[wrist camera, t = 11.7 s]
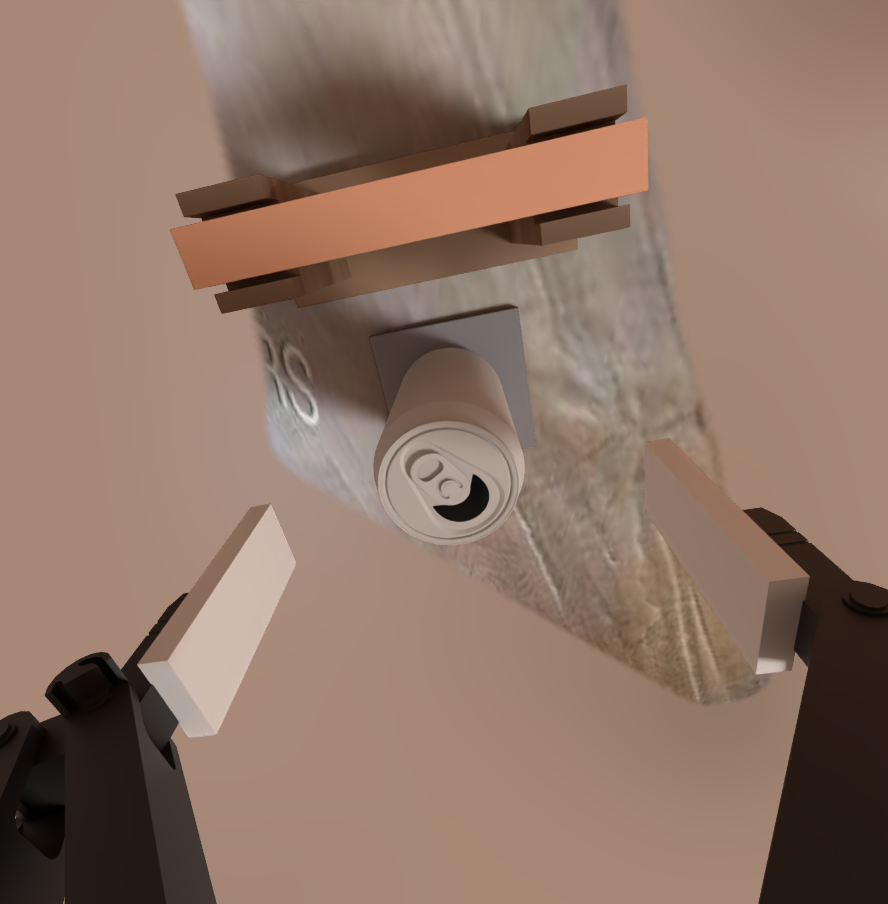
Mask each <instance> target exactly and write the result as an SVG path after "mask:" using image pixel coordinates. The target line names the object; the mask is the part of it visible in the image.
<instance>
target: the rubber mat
mask: <svg viewBox="0 0 888 904" xmlns="http://www.w3.org/2000/svg"><path fill="white" fill-rule="evenodd" d="M369 339H370V343H371V347H372V351H373V355H374V358H375V362H376V366H377V370H378V374H379V377H380V381H381V385H382V389H383V393H384V396H385V400H386V404H387V408H388V412H389V414H390V412H391V409H392V406H393V404H394V401H395V399H396V396H397V393H398V391H399V388H400V386H401V383H402V380H403V378H404V376H405V374H406V372H407V371H408V369H409V368H410V367H411V365H412V364H413V363H414V362H415V361H416V360H418V359H419V358H420V357H422V356H423V355H425V354H427V353H429V352H431V351H434V350H437V349H442V348H460V349H465V350H468V351H471V352H473V353H475V354H477V355H479V356H481V357H482V358H483V359H485V360H486V361H487V362H488V363H489V364H490V365H491V366H492V367H493V369H494V370H495V372H496V373H497V375H498V377H499V379H500V382H501V385H502V388H503V392H504V395H505V398H506V401H507V404H508V407H509V411H510V414H511V417H512V420H513V423H514V427H515V430H516V433H517V436H518V439H519V443H520V446H521V449H523V448H529V447H535V438H534V430H533V422H532V414H531V406H530V398H529V390H528V382H527V374H526V366H525V358H524V350H523V342H522V334H521V326H520V319H519V311H518V307H513V308H508V309H503V310H498V311H493V312H488V313H483V314H478V315H473V316H468V317H464V318H459V319H454V320H449V321H444V322H439V323H434V324H429V325H424V326H419V327H414V328H409V329H404V330H399V331H394V332H389V333H384V334H379V335H374V336H370V337H369Z"/></svg>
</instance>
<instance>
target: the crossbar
mask: <svg viewBox="0 0 888 904" xmlns="http://www.w3.org/2000/svg"><path fill="white" fill-rule="evenodd" d="M646 190H648V123H647V117H645V118H641V119H637V120H633V121H628V122H624V123H620V124H616V125H611V126H607V127H603V128H599V129H594V130H590V131H586V132H582V133H577V134H573V135H569V136H565V137H560V138H556V139H552V140H548V141H543V142H539V143H535V144H531V145H526V146H522V147H518V148H514V149H509V150H505V151H501V152H497V153H492V154H488V155H484V156H480V157H475V158H471V159H467V160H463V161H458V162H454V163H450V164H446V165H441V166H437V167H433V168H429V169H424V170H420V171H416V172H412V173H407V174H403V175H399V176H395V177H390V178H386V179H382V180H378V181H373V182H369V183H365V184H361V185H356V186H352V187H348V188H344V189H339V190H335V191H331V192H327V193H322V194H318V195H314V196H310V197H305V198H301V199H297V200H293V201H288V202H284V203H280V204H276V205H271V206H267V207H263V208H259V209H254V210H250V211H246V212H242V213H237V214H233V215H229V216H225V217H220V218H216V219H212V220H208V221H203V222H199V223H195V224H191V225H186V226H182V227H178V228H174V229H170V231H171V234H172V236H173V239H174V241H175V243H176V246H177V249H178V251H179V254H180V256H181V259H182V261H183V264H184V266H185V268H186V271H187V273H188V276H189V278H190V281H191V283H192V286H193V288H194V290H195V289H200V288H205V287H211V286H216V285H220V284H225V283H229V282H234V281H238V280H243V279H247V278H252V277H257V276H261V275H266V274H270V273H275V272H279V271H284V270H288V269H293V268H298V267H302V266H307V265H311V264H316V263H320V262H325V261H329V260H334V259H339V258H343V257H348V256H352V255H357V254H361V253H366V252H370V251H375V250H380V249H384V248H389V247H393V246H398V245H402V244H407V243H411V242H416V241H421V240H425V239H430V238H434V237H439V236H443V235H448V234H452V233H457V232H462V231H466V230H471V229H475V228H480V227H484V226H489V225H493V224H498V223H503V222H507V221H512V220H516V219H521V218H525V217H530V216H534V215H539V214H543V213H548V212H553V211H557V210H562V209H566V208H571V207H575V206H580V205H584V204H589V203H594V202H598V201H603V200H607V199H612V198H616V197H621V196H625V195H630V194H634V193H638V192H642V191H646Z"/></svg>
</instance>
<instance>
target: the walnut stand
mask: <svg viewBox="0 0 888 904" xmlns="http://www.w3.org/2000/svg"><path fill="white" fill-rule="evenodd" d="M626 112H627V84H626V85H622V86H618V87H614V88H610V89H606V90H602V91H598V92H593V93H589V94H585V95H581V96H577V97H573V98H569V99H565V100H561V101H556V102H552V103H548V104H544V105H540V106H536V107H532V108H529V109H528V110H527V112H526V114H525V116H524V117H523V119H522V121H521V123H520V124H519V126H518V128H517V130H514V131H510V132H506V133H502V134H497V135H493V136H489V137H485V138H481V139H477V140H472V141H468V142H464V143H460V144H456V145H451V146H447V147H443V148H439V149H435V150H431V151H426V152H422V153H418V154H414V155H410V156H405V157H401V158H397V159H393V160H389V161H385V162H380V163H376V164H372V165H368V166H364V167H359V168H355V169H351V170H347V171H343V172H339V173H334V174H330V175H326V176H322V177H318V178H313V179H309V180H305V181H301V182H297V183H293V184H287V183H284V182H281V181H278V180H275V179H272V178H269V177H266V176H263V175H260V174H256V175H252V176H248V177H244V178H240V179H236V180H232V181H228V182H223V183H220V184H215V185H211V186H207V187H203V188H199V189H195V190H191V191H187V192H182V193H179V194H176V197H177V200H178V202H179V205H180V208H181V210H182V213H183V215H184V217H191V218H202V221H208V220H212V219H216V218H220V217H225V216H229V215H233V214H237V213H242V212H246V211H250V210H254V209H259V208H263V207H267V206H271V205H276V204H280V203H284V202H288V201H293V200H297V199H301V198H305V197H310V196H314V195H318V194H322V193H327V192H331V191H335V190H339V189H344V188H348V187H352V186H356V185H361V184H365V183H369V182H373V181H378V180H382V179H386V178H390V177H395V176H399V175H403V174H407V173H412V172H416V171H420V170H424V169H429V168H433V167H437V166H441V165H446V164H450V163H454V162H458V161H463V160H467V159H471V158H475V157H480V156H484V155H488V154H492V153H497V152H501V151H505V150H509V149H514V148H518V147H522V146H526V145H531V144H535V143H539V142H543V141H548V140H552V139H556V138H560V137H565V136H569V135H573V134H577V133H582V132H586V131H590V130H594V129H599V128H603V127H607V126H611V125H615V120H617V119H618V118H619V117H621V116H622V115H624V114H625V113H626ZM628 227H630V204H628V205H623V206H618V197H616V198H612V199H607V200H603V201H598V202H594V203H589V204H584V205H580V206H575V207H571V208H566V209H562V210H557V211H553V212H548V213H543V214H539V215H534V216H530V217H525V218H521V219H516V220H512V221H507V222H503V223H498V224H493V225H489V226H484V227H480V228H475V229H471V230H466V231H462V232H457V233H452V234H448V235H443V236H439V237H434V238H430V239H425V240H421V241H416V242H411V243H407V244H402V245H398V246H393V247H389V248H384V249H380V250H375V251H370V252H366V253H361V254H357V255H352V256H348V257H343V258H339V259H334V260H329V261H325V262H320V263H316V264H311V265H307V266H302V267H298V268H293V269H288V270H284V271H279V272H275V273H270V274H266V275H261V276H257V277H252V278H247V279H243V280H238V281H234V282H229V283H226V285H227V288H228V292H223V293H219V294H215V298H216V300H217V303H218V306H219V308H220V311H221V313H222V314H223V313H228V312H233V311H238V310H242V309H247V308H252V307H256V306H261V305H266V304H270V303H275V302H280V301H285V300H289V299H294V298H295V301H296V304H297V307H298V308H301V307H305V306H310V305H315V304H320V303H325V302H329V301H334V300H339V299H344V298H348V297H353V296H358V295H363V294H367V293H372V292H377V291H382V290H386V289H391V288H396V287H401V286H405V285H410V284H415V283H420V282H424V281H429V280H434V279H439V278H443V277H448V276H453V275H458V274H463V273H467V272H472V271H477V270H482V269H486V268H491V267H496V266H501V265H505V264H510V263H515V262H520V261H524V260H529V259H534V258H539V257H543V256H548V255H553V254H558V253H562V252H567V251H572V250H577V249H578V245H577V238H581V237H586V236H590V235H595V234H600V233H604V232H609V231H614V230H619V229H623V228H628Z"/></svg>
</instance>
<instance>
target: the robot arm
mask: <svg viewBox="0 0 888 904" xmlns="http://www.w3.org/2000/svg"><path fill="white" fill-rule="evenodd" d="M645 511H646V513H647V514H648V516H649V517H650V519H651V520H652V521H653V523H654V524H655V526H656V527H657V529H658V530H659V532H660V533H661V535H662V536H663V538H664V539H665V541H666V542H667V544H668V545H669V547H670V548H671V550H672V551H673V553H674V554H675V556H676V557H677V558H678V560H679V561H680V563H681V564H682V566H683V567H684V569H685V570H686V572H687V573H688V575H689V576H690V578H691V579H692V581H693V582H694V584H695V585H696V587H697V588H698V590H699V591H700V593H701V594H702V595H703V597H704V598H705V600H706V601H707V603H708V604H709V606H710V607H711V609H712V610H713V612H714V613H715V615H716V616H717V618H718V619H719V621H720V622H721V624H722V625H723V627H724V628H725V629H726V631H727V632H728V634H729V635H730V637H731V638H732V640H733V641H734V643H735V644H736V646H737V647H738V649H739V650H740V652H741V653H742V655H743V656H744V658H745V659H746V661H747V662H748V664H749V665H750V666H751V668H752V669H753V671H754V672H755V674H764V673H772V672H781V671H790V670H792V666H793V661H794V656H795V652H796V653H797V654H798V655H799V657H800V658H801V659H802V660H803V662H804V663H805V664H806V665H807V667H808V672H807V676H806V681H805V686H804V690H803V695H802V700H801V705H800V709H799V714H798V719H797V724H796V728H795V733H794V738H793V742H792V747H791V752H790V757H789V761H788V766H787V771H786V775H785V780H784V785H783V790H782V794H781V799H780V804H779V809H778V813H777V818H776V823H775V827H774V832H773V837H772V842H771V846H770V851H769V856H768V860H767V865H766V870H765V874H764V879H763V884H762V889H761V894H760V898H759V904H888V590H887V589H885V588H882V587H879V586H876V585H873V584H870V583H866V582H860V581H854V580H852V579H851V578H850V577H849V576H848V575H847V574H845V573H844V572H843V571H842V570H841V569H840V568H839V567H838V566H836V565H835V564H834V563H833V562H832V561H831V560H830V559H829V558H827V557H826V556H825V555H824V554H823V553H822V552H820V550H818V549H817V548H816V547H815V546H814V545H812V543H808V540H807V539H806V538H805V537H804V536H802V535H801V534H800V533H799V532H798V533H797V532H796V529H795V528H793V527H792V526H791V525H790V524H789V523H788V522H787V521H786V520H784V519H783V518H782V517H780V516H778V515H776V514H774V513H772V512H770V511H768V510H766V509H764V508H754V509H747V510H742V509H741V508H740V507H739V506H737V505H736V504H735V503H734V502H733V501H732V500H731V499H730V498H729V497H728V496H727V495H726V494H725V493H724V492H723V491H722V490H721V489H720V488H719V487H718V486H717V485H716V484H715V483H714V482H713V481H712V480H711V479H710V478H709V477H708V476H707V475H706V474H705V473H704V472H703V471H702V470H701V469H700V468H699V467H698V466H697V465H696V464H695V463H694V462H693V461H692V460H691V459H690V458H689V457H688V456H686V455H685V454H684V453H683V452H682V451H681V450H680V449H679V448H678V447H677V446H676V445H675V444H674V443H673V442H672V441H671V440H670V439H669V438H667V439H661V440H655V441H649V442H645ZM295 565H296V562H295V559H294V557H293V555H292V552H291V550H290V548H289V546H288V543H287V541H286V539H285V536H284V534H283V531H282V529H281V527H280V524H279V522H278V520H277V518H276V515H275V513H274V510H273V508H272V506H271V504H267V505H261V506H255V507H251V508H250V509H249V511H248V512H247V513H246V515H245V516H244V517H243V519H242V520H241V522H240V523H239V524H238V526H237V527H236V529H235V530H234V531H233V533H232V534H231V535H230V537H229V538H228V539H227V541H226V542H225V544H224V545H223V546H222V548H221V549H220V551H219V552H218V554H217V555H216V556H215V557H214V559H213V560H212V562H211V563H210V564H209V566H208V567H207V569H206V570H205V571H204V573H203V574H202V576H201V577H200V578H199V580H198V581H197V582H196V584H195V585H194V586H193V588H192V589H191V591H190V592H189V593H185V594H183V595H181V596H180V597H179V598H178V599H177V600H176V601H175V602H173V603H172V604H171V605H170V606H169V607H168V608H167V609H166V611H165V612H164V613H163V615H162V616H161V617H160V619H159V620H158V623H157V624H155V625H154V627H153V628H152V629H151V631H150V632H149V636H146V637H145V639H144V640H143V641H142V643H141V644H140V645H139V647H138V648H137V649H136V651H135V652H134V653H133V655H132V656H131V657H130V659H129V660H128V661H127V663H126V664H125V665H124V667H123V668H122V669H121V670H120V668H119V667H118V666H117V665H116V663H115V662H114V660H113V659H112V658H111V656H110V655H109V654H108V653H105V652H99V653H94V654H90V655H88V656H85V657H83V658H81V659H79V660H77V661H76V662H74V663H73V664H71V665H70V666H68V667H66V668H65V669H64V670H63V671H62V672H61V673H60V674H58V675H57V676H56V677H55V678H54V680H53V681H52V682H51V684H50V685H49V686H48V688H47V690H46V693H45V696H46V698H48V700H49V701H50V702H51V703H52V704H53V705H54V707H55V708H56V709H57V710H58V711H59V712H60V713H61V715H58V716H56V717H53V718H50V719H48V720H46V721H43V722H40V723H39V722H38V720H37V719H36V718H35V717H34V716H33V715H32V714H31V713H30V712H29V711H26V712H25V711H20V712H18V713H14V714H11V715H9V716H7V717H5V718H3V719H2V720H0V904H63V901H64V897H65V904H216V900H215V896H214V892H213V888H212V884H211V880H210V876H209V872H208V868H207V864H206V860H205V856H204V853H203V849H202V845H201V841H200V837H199V833H198V829H197V825H196V821H195V817H194V813H193V809H192V805H191V802H190V798H189V794H188V790H187V786H186V783H185V778H184V774H183V771H182V766H181V763H180V758H179V755H178V751H177V747H176V745H175V744H174V742H173V741H172V739H171V736H172V734H173V732H174V730H175V728H176V727H177V725H178V723H179V725H180V726H181V727H182V729H183V730H184V732H185V733H186V735H187V736H188V737H189V738H191V737H200V736H209V735H216V734H217V732H218V730H219V728H220V726H221V724H222V721H223V720H224V717H225V715H226V713H227V711H228V709H229V707H230V705H231V702H232V700H233V698H234V696H235V693H236V691H237V690H238V687H239V685H240V683H241V681H242V679H243V677H244V675H245V672H246V670H247V668H248V666H249V664H250V662H251V659H252V657H253V655H254V653H255V651H256V649H257V647H258V644H259V642H260V640H261V638H262V636H263V634H264V632H265V630H266V627H267V625H268V623H269V621H270V619H271V616H272V614H273V612H274V610H275V608H276V606H277V604H278V601H279V600H280V597H281V595H282V593H283V591H284V589H285V587H286V585H287V582H288V580H289V578H290V576H291V574H292V572H293V570H294V567H295ZM15 816H16V819H15Z"/></svg>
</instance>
